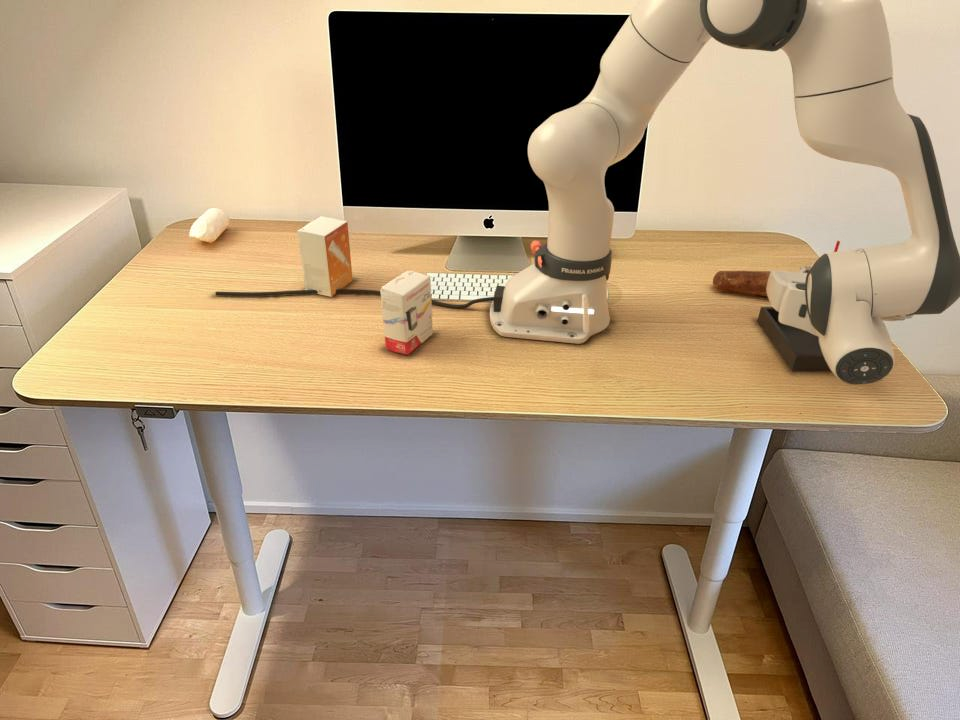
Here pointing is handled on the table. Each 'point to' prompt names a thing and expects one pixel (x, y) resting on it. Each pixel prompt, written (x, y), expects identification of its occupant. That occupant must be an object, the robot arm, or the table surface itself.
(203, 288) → the table surface
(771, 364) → the table surface
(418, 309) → the ink box
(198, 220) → the roll
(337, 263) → the small box
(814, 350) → the tray
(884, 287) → the robot arm
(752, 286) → the bread
